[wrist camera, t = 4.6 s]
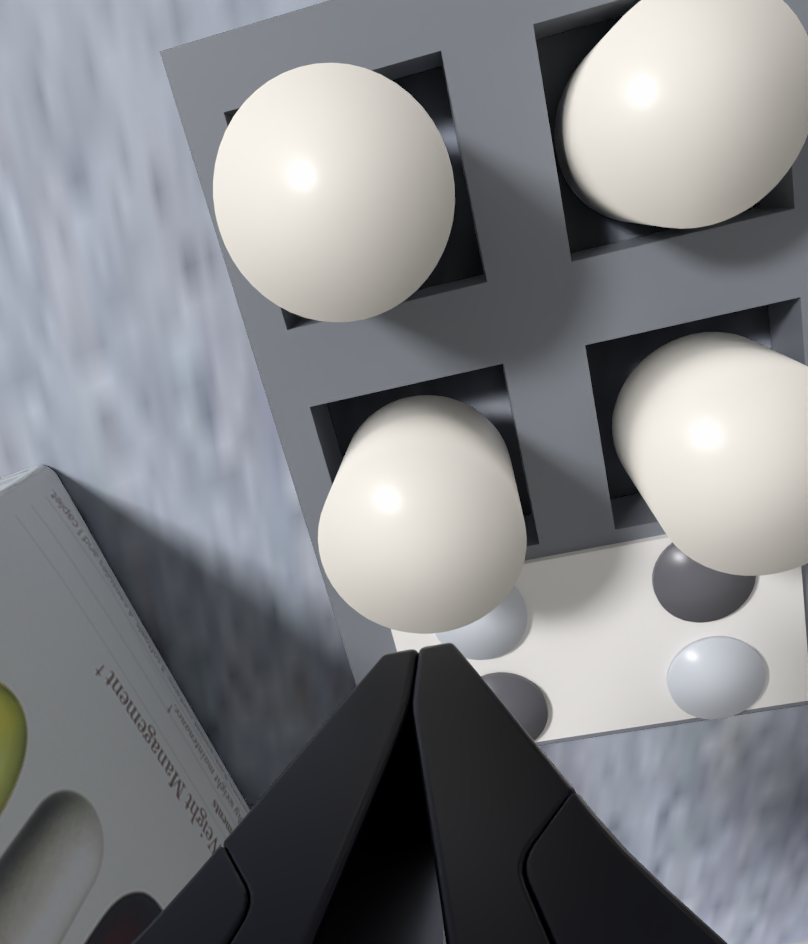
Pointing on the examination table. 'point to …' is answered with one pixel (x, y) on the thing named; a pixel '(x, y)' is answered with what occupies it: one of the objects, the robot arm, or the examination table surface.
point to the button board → (531, 372)
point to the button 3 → (686, 111)
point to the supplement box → (90, 740)
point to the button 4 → (720, 450)
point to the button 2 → (424, 518)
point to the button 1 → (333, 192)
